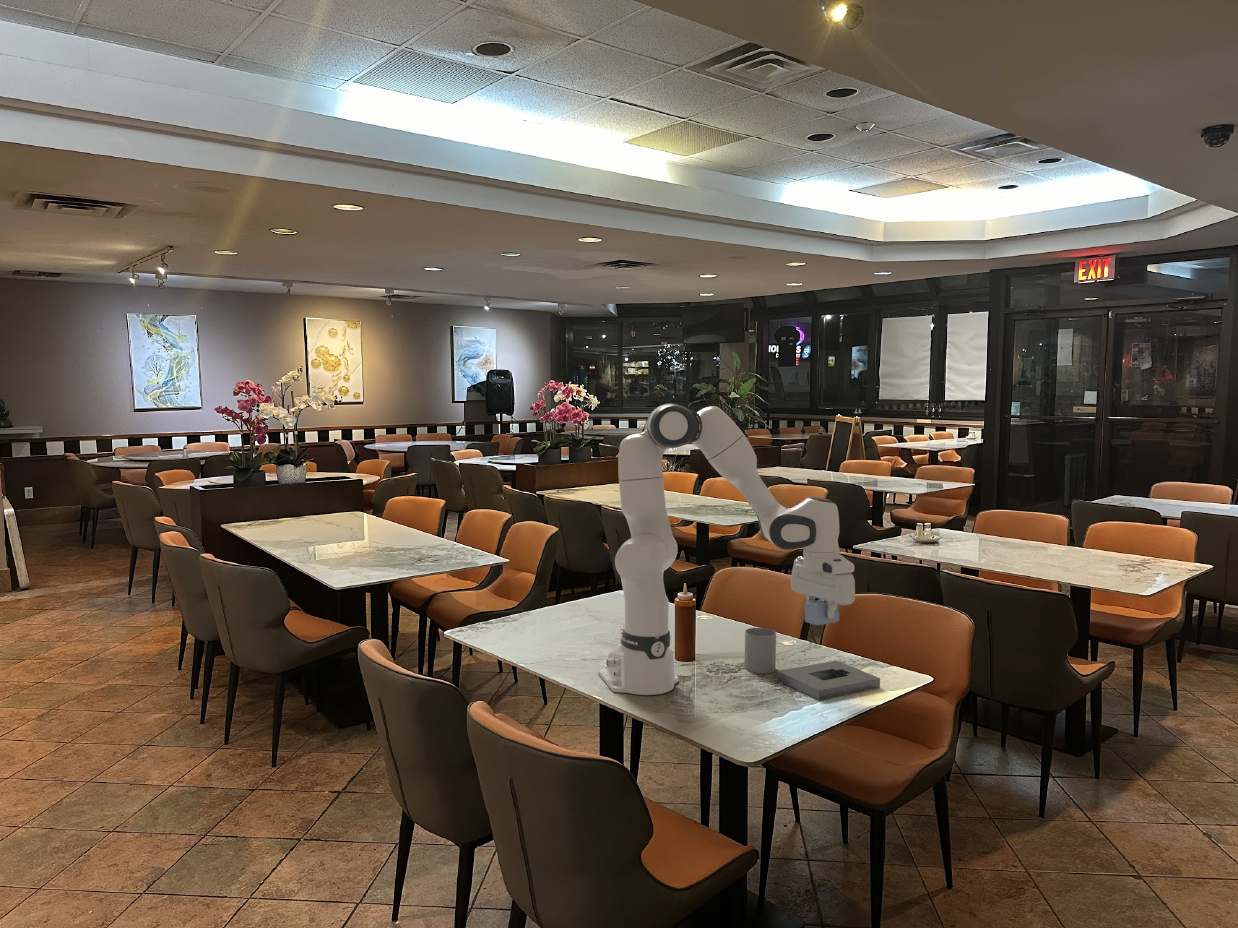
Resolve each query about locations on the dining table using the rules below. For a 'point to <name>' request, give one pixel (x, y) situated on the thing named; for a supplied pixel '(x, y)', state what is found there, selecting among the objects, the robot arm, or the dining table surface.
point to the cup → (760, 650)
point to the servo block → (819, 612)
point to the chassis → (841, 684)
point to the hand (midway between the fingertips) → (821, 615)
